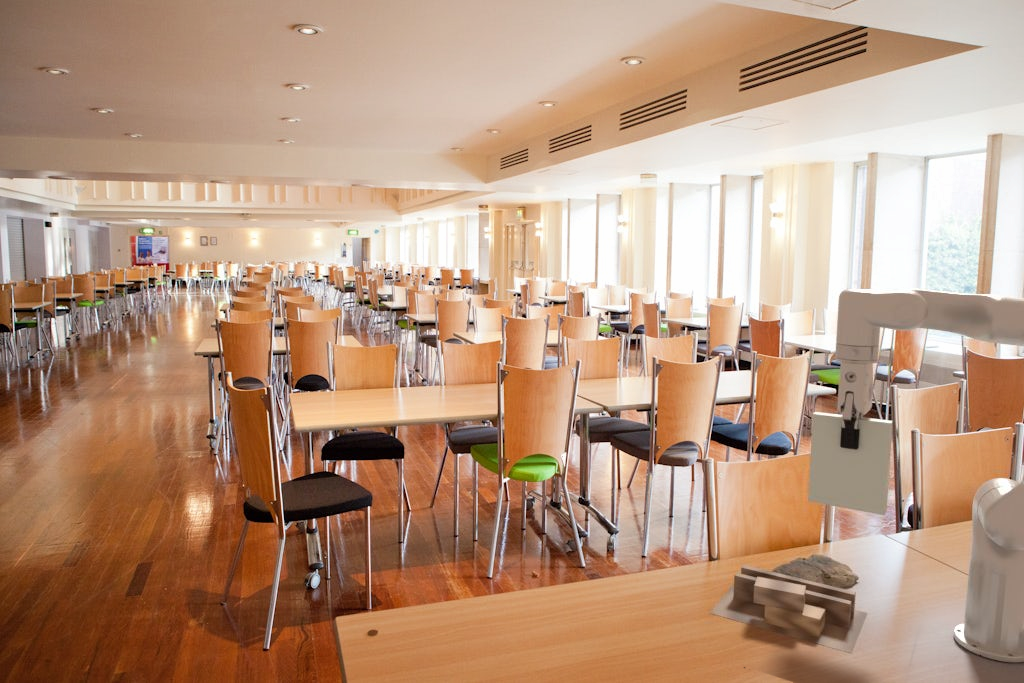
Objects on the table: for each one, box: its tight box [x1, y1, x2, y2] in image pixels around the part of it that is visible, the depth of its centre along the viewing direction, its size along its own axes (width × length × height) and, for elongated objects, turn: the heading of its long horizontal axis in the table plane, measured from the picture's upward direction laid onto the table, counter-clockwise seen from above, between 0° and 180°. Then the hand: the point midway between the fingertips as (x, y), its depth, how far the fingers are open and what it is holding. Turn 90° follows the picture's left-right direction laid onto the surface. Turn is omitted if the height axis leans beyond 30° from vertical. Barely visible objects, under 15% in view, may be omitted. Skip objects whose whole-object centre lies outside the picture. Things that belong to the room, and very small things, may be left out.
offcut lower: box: [764, 604, 826, 637], centre depth 144 cm, size 10×5×4 cm, turn 56°
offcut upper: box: [753, 577, 806, 613], centre depth 145 cm, size 9×4×4 cm, turn 64°
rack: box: [709, 564, 868, 654], centre depth 148 cm, size 26×18×6 cm
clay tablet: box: [771, 553, 860, 589], centre depth 165 cm, size 14×5×20 cm
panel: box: [807, 411, 893, 516], centre depth 147 cm, size 14×2×18 cm, turn 56°
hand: (850, 445), depth 146 cm, fingers closed on panel, 2 cm apart
